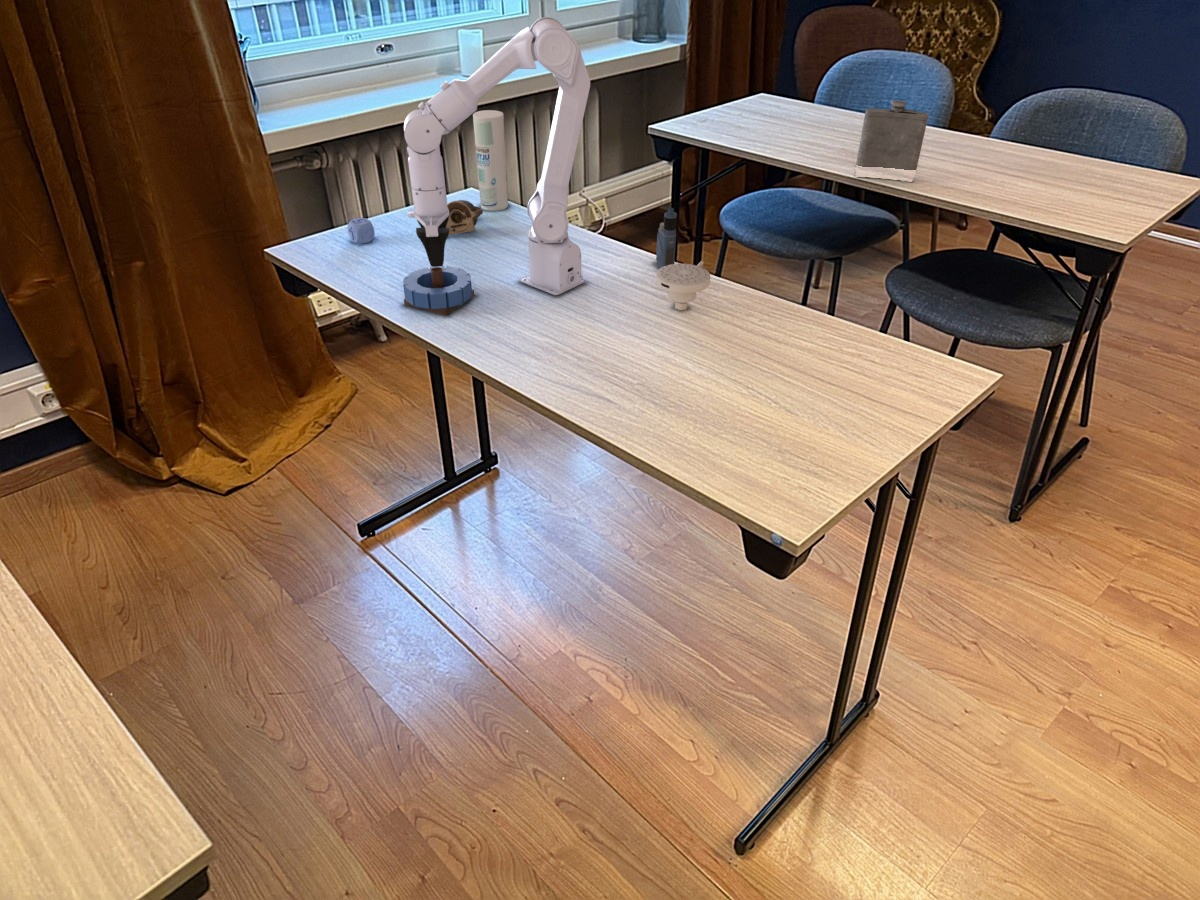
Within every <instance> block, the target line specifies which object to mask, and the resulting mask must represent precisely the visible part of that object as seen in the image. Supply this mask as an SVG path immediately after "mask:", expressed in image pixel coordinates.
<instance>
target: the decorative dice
mask: <svg viewBox="0 0 1200 900" xmlns="http://www.w3.org/2000/svg"><path fill="white" fill-rule="evenodd" d="M347 233H348V236H349V238H350V240H351V241H352V242H353V243H356V244H360V245H361V244H367V243H370V242H371V241H372V240H373V239H374V237H375V234H376V233H375V227H374V225H373V223H372V221H371V220H370V219H368V218H366V217H357V218H353V219H351V220H350V221H349V222H348V224H347Z"/></svg>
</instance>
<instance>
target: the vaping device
mask: <svg viewBox="0 0 1200 900" xmlns="http://www.w3.org/2000/svg"><path fill="white" fill-rule="evenodd" d="M677 218H678V213H677V212H675V208H673V207H668V208H667V211H665V212H664V216H663V222H660V223H659V227H658V230H657V235H656V257H655V260H656V265H657V266H658V267H659V269H660V268H662V267H664V266H667V265H671V264H675V258H676V242H677Z"/></svg>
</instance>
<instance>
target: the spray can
mask: <svg viewBox="0 0 1200 900" xmlns="http://www.w3.org/2000/svg"><path fill="white" fill-rule="evenodd" d="M472 121H473V122H472V123H473V133H474V143H475V155H476V168H477V176H478V177H477V179H478V191H479V192H478V193H479V200H480V203H479V204H480V208H481V209H482V210H484V211H493V212H494V211H503V210H505V209H507V208H508V207H509V192H508V175H507V173H508V171H507V155H506V135H505V134H506V132H505V117H504V112H503V111H501V110H500V111H499V110H493V109H492V110H491V109H487V110H485V109H483V110H479V111H475V112H474V113H472Z"/></svg>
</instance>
